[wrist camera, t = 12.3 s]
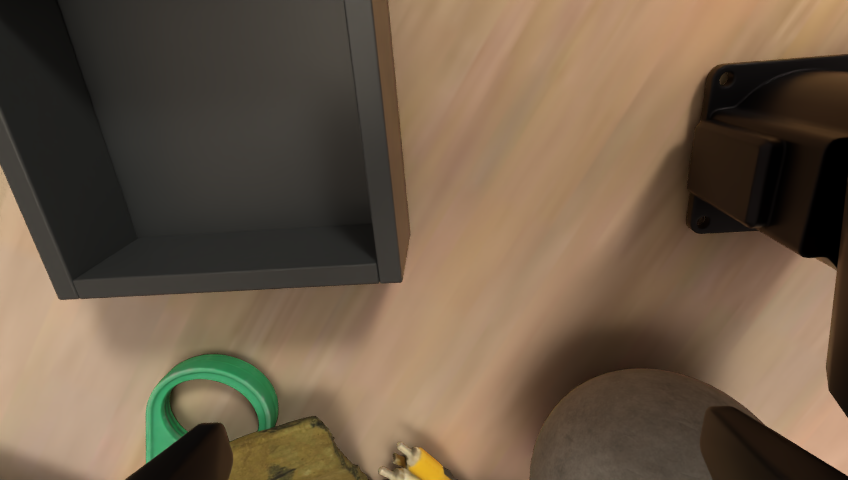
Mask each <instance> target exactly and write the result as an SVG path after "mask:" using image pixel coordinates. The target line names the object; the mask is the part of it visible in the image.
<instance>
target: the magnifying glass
mask: <svg viewBox="0 0 848 480" xmlns="http://www.w3.org/2000/svg"><path fill="white" fill-rule="evenodd" d="M194 379H207V380H213V381H218V382H221V383H224V384H227V385H229V386H230V387H232V388H234V389H236V390H237V391H239V392H240V393H241V394H243V395H244V396H245V397H246V398H247V399H248V400H249V401H250V403H251V404H252V406H253V407H254V409H255V411H256V413H257V416H258V421H259V427H258V431H261V430H265V429H269V428H273V427H275V424H276V421H277V418H278V410H279V409H278V399H277V395H276V393H275V390H274V388H273V386H272V384H271V383H270V381H269V380H268V379H267V378H266V377H265V375H264V374H263V373H262V372H260V371H259V370H258V369H257V368H255V367H254V366H252V365H251V364H249V363H247V362H245V361H243V360H240V359H238V358H235V357H231V356H227V355H221V354H206V355H200V356H196V357H193V358H190V359H187V360H185V361H183V362H181V363H180V364H178V365H176V366H175V367H174V368H173V369H172V370H171V371H170V372H169V373H168V374H167V375H166V376H165V377H164V378H163V379H162V380H161V381H160V382H159V383H158V384H157V386H156V387H155V388H154V390H153V391H152V393H151V395H150V397H149V400H148V402H147V407H146V464H147V463H148V462H149V461H151V460H152V459H153V458H154V457H156V456H157V455H158V454H160V453H161V452H162V451H164V450H165V449H166V448H168V447H169V446H170V445H172V444H173V443H174V442H176V441H177V440H178V439H180V438H181V437H182V436H184V435H185V434H186V433H187V432H188V431H186V430H185V429H184V428H183V427H182V426H181V425H180V424H179V423H178V421H177V420H176V419H175V417H174V415H173V413H172V411H171V408H170V394H171V391H172V389H173V387H175V386H176V385H178V384H179V383H182V382H184V381H188V380H194Z"/></svg>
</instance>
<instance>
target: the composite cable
mask: <svg viewBox="0 0 848 480" xmlns="http://www.w3.org/2000/svg"><path fill="white" fill-rule="evenodd" d="M397 449H398V450H399V451H401V452H402V453H403V454H404V455H405V456H406V457H404V456H401V455H398V454H397V453H394V454H393V464H397V465H399V466H401V467H402V468H400V469H399V468H395V469H394V470H393V471H391V470H390V469H387V468H386V467H384V466H382V467H380V468H379V470H378V473H379V474H380V475H382V476H384V477H387V478H389V479H388V480H458V479H456V478H454V477H453V475H452V474H451V472H450V471H449V470H448V469H446V468H444V467H442V465H441V464H440V463H439V462H438V461H437V460H435V459H434V458H433V457H432V456H431V455H429V454H428V453H427V452H426V451H424V450H423V449H422V448H420V447H419V448H417V447H416V446H415V447H413V448H412V449H410V448H408V447H407V446H406V445H404V444H403V443H402V442H399V443H398V444H397Z"/></svg>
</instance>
